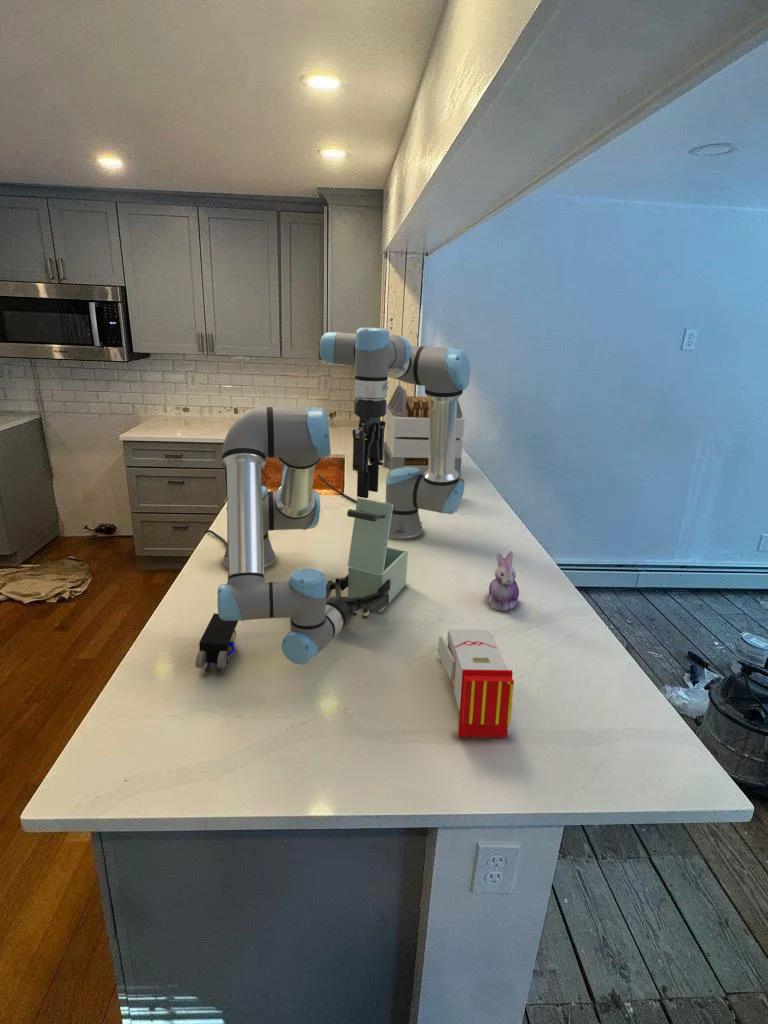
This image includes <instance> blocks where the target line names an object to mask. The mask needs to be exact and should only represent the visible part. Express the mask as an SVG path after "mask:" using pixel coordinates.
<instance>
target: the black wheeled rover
mask: <svg viewBox="0 0 768 1024" xmlns="http://www.w3.org/2000/svg"><path fill="white" fill-rule="evenodd" d="M238 623H239V621H223V620H222V619H220V617H219V615H218V613H215V612H214V613H213V615H212V617H211V618H210V621H209V622H208V623H207V626H206V627H205V630H204V632H203V634H202V636H201V638H200V640H199V642H198V644H199V650H198V651H197V654H196V657H195V668H196V669H203V668H204V671H205V673H208V672H209V671H210V668H211V667H212V665H216V666H217V668H219V669H218V673H221V672H222V671H223V669H225V668H226V665H228V664H229V659H230V657H231V656H232V655H233V654H234V653H235V652H236V649H235V641H236V640H237V632H236V628H237V625H238ZM229 647H230V651H229ZM205 665H206V667H205Z"/></svg>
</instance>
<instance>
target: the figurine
mask: <svg viewBox="0 0 768 1024" xmlns="http://www.w3.org/2000/svg"><path fill="white" fill-rule="evenodd" d="M513 556H514V553H513V551H512V550H510V551H508V553H507V555H506V556H505V558H504V556H503V555H502V553H501V552H500V551H497V552H496V562H497V563H496V564H497V567H496V569H495V571H494V576H495V578H494V579H492V581H491V582H489V585H488V596H487V601H488V602H487V603H489V605H491V608H492V609H493V610H496V611H497V610H498V611H503V612H505V611H507V610H511V609H514V608H515V606H516V605H517V603H518V599H519V596H520V590H519V585H518V583H517V581H516V576H517V575H516V571H515V568H514V566H513Z"/></svg>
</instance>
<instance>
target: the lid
mask: <svg viewBox="0 0 768 1024" xmlns="http://www.w3.org/2000/svg"><path fill="white" fill-rule="evenodd" d="M356 501H357V503H356V504H355V505H356V506H355V509H353V508H352V509H350V508H349V509H348V510H347V513H346V515H347V517H348V518H354V519H353V526H352V533H351V541H350V548H349V555H348V561H347V567H348V568H349V567H353V568H357V569H361V570H365V571H370V572H374V573H378V574H383V572H384V565H385V558H386V552H387V547H388V545H389V539H390V538H389V532H390V525H391V518H392V511H393V504H389V503H386V502H383V501H378V500H373V499H368V498H362V497H357V499H356Z"/></svg>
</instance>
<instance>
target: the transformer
mask: <svg viewBox="0 0 768 1024" xmlns="http://www.w3.org/2000/svg"><path fill="white" fill-rule="evenodd" d="M407 394H408V393H407V390H406V389H404V388H403V387H402V385H399V384H398V385H397V386H396V388H395V390H394V392H393V394H392V395H391V398H390V400H389V402H388V404H387V407H386V415H385V422H386V425H385V437H384V454H383V466H384V467H388V468H389V472H390V471H391V470H393V469H397V468H404V467H405V466H406V467H417V466H418V467H428V459H429V407H430V399H429V397H428V396H415V395H414V396H413V395H412V396H411V395H407ZM464 429H465V419H464V418H463V411H462V408H461V405H460V402H459V398H458V399H457V420H456V444H455V468H454V469H455V470H456V471H457V472H458V473H459V477H460V478H461V472H462V461H463V460H462V453H463V442H464V441H463V440H462V439H463V438H464V431H465V430H464Z"/></svg>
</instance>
